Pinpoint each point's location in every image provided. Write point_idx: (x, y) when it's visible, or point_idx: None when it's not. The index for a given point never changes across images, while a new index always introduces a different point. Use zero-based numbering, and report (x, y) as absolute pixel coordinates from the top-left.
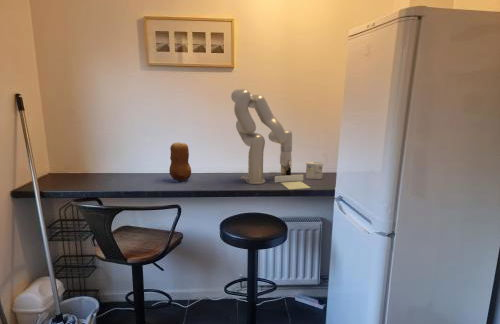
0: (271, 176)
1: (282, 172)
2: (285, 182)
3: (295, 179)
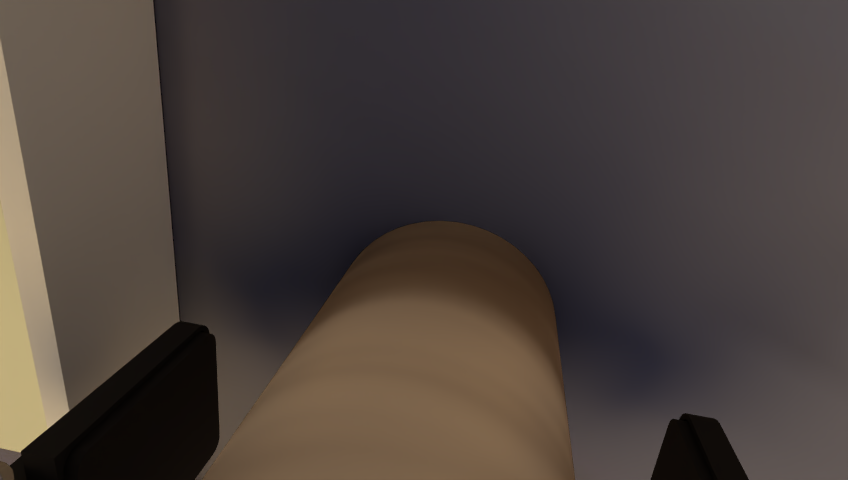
0: (844, 49)
1: (344, 326)
2: None
3: None
